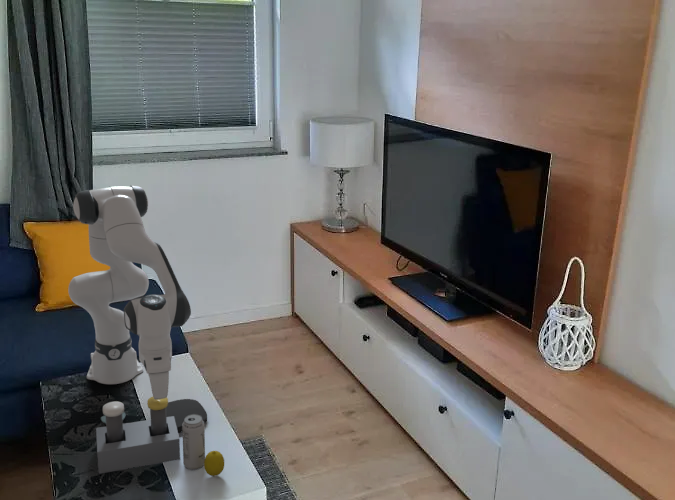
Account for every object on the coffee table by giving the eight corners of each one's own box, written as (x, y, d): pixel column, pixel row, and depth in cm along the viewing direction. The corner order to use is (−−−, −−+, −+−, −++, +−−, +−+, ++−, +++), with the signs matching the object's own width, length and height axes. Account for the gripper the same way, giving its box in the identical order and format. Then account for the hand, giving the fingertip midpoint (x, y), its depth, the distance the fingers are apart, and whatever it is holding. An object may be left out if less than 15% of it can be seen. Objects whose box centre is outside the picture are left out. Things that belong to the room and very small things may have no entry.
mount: (97, 448, 193) (96, 427, 190) (174, 436, 200) (173, 416, 198) (98, 473, 182) (97, 452, 180) (180, 459, 190) (179, 438, 187)
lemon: (205, 469, 186) (204, 445, 183) (225, 469, 186) (225, 445, 184) (203, 482, 181) (202, 457, 178) (223, 482, 181) (223, 457, 179)
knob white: (104, 437, 189) (102, 403, 185) (125, 434, 191) (123, 400, 187) (105, 449, 184) (103, 413, 180) (126, 445, 186) (124, 410, 182)
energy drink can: (205, 470, 186) (204, 424, 181) (183, 472, 184) (181, 425, 180) (205, 457, 191) (204, 412, 186) (183, 458, 190) (182, 413, 185)
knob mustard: (148, 431, 193) (146, 396, 189) (167, 428, 195) (166, 394, 191) (150, 441, 188) (148, 407, 185) (170, 438, 190) (169, 404, 186)
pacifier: (99, 419, 207) (102, 428, 202) (97, 401, 205) (101, 410, 200) (123, 413, 211) (127, 423, 206) (121, 396, 209) (126, 405, 204)
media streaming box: (211, 425, 207) (210, 416, 206) (165, 437, 200) (165, 429, 199) (194, 402, 219) (194, 394, 218) (150, 414, 212) (150, 405, 211)
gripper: (140, 338, 191) (142, 380, 196) (147, 371, 173) (149, 417, 178) (162, 335, 193) (164, 377, 198) (171, 368, 175) (173, 413, 180)
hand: (157, 396), depth 188 cm, fingers closed
